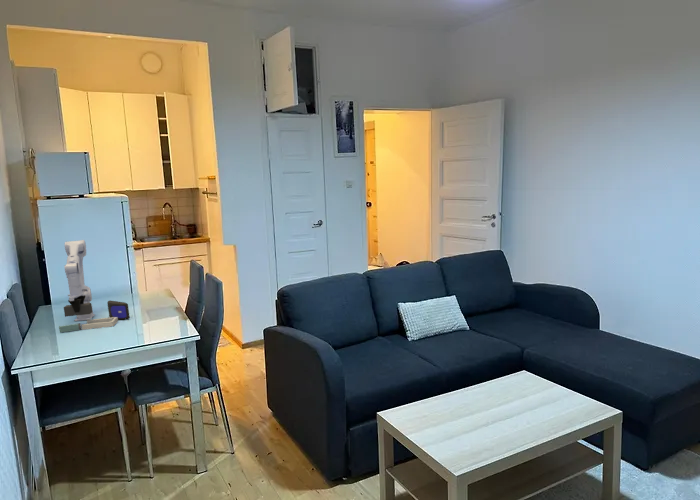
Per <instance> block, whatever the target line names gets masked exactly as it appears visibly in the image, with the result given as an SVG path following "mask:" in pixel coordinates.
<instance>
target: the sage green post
mask: <svg viewBox="0 0 700 500" xmlns="http://www.w3.org/2000/svg"><path fill="white" fill-rule="evenodd" d="M81 325H82V323H73V324H67V325H66V324H65V325H60V326H58V330H59V333H60V334H61V333H67V332H74V331H79V330H82V326H81Z"/></svg>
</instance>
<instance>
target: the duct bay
mask: <svg viewBox="0 0 700 500" xmlns="http://www.w3.org/2000/svg"><path fill="white" fill-rule="evenodd" d="M118 322H119V320H118V317H112V318H110V317H105V318H104V317H103V318H95V319H94V318H93V319H92V318H91V319H90V320H86V323H84V324H82V323H81V330H82V331H83V330H91V329H92V328H94V329H102V327H104V328H112V326H113V327H114V326H115V325H116V324H118Z"/></svg>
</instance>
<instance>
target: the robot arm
mask: <svg viewBox="0 0 700 500" xmlns="http://www.w3.org/2000/svg"><path fill="white" fill-rule="evenodd" d="M64 249H65V252H66V255H67V257H66V258H67V259H66V264H65V265H64V273H65V276H66V279H67V283H68V291H69V293H68V294H67V297H68V304H69V305H72V307H73V309H74V312H75V313H76V312H80V304H85V303H91V302H92V300H93V296H92V291H91V288H90V287H89V286H88V285H85V277H84V276H85V275H84V274H85V273H84V264H83V260H84V257H86V256H87V245H86V241H85V239H81V240H72V241H71V240H70V241H65V242H64ZM91 305H92V306H93V304H92V303H91ZM95 316H96V314H95V313H94V312H93V308H92V313H91V314H86V315H76V318H75V319H74V322H80V321H87V320H92V318H93V317H95Z"/></svg>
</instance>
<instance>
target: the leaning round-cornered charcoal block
mask: <svg viewBox="0 0 700 500" xmlns="http://www.w3.org/2000/svg"><path fill="white" fill-rule="evenodd" d="M107 309H108V310H107V311H108V316H109V317H108V318H112V317H118V321H124V320H126V321H127V320H129V319H130V318H131V316H130V311H129V304H128V303H127V302H125V301H116V300H108V301H107Z"/></svg>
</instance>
